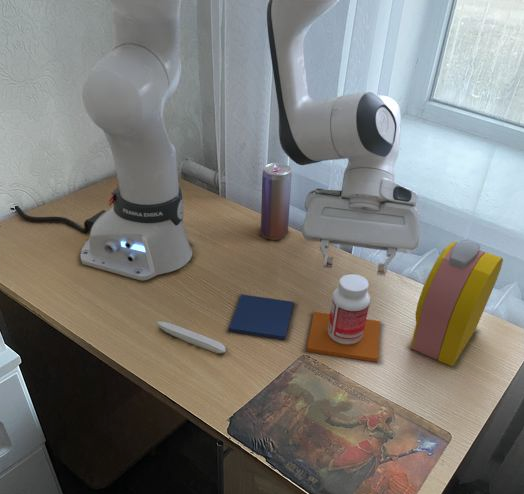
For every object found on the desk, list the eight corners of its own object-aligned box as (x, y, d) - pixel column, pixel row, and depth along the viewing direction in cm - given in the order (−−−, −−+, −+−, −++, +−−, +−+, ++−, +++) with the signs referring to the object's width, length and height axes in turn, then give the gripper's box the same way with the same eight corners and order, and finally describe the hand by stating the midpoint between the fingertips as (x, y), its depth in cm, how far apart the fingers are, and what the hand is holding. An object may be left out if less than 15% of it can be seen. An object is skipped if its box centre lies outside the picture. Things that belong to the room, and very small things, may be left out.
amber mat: (306, 351, 91) (306, 347, 90) (313, 314, 98) (313, 311, 97) (377, 362, 89) (378, 358, 89) (379, 324, 96) (380, 321, 96)
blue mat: (228, 331, 94) (228, 328, 93) (241, 297, 101) (241, 294, 100) (284, 340, 93) (285, 336, 92) (293, 305, 100) (293, 301, 99)
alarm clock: (435, 308, 100) (463, 221, 88) (478, 325, 97) (513, 237, 84) (402, 352, 91) (428, 261, 79) (448, 372, 88) (483, 281, 75)
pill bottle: (370, 338, 92) (381, 286, 85) (342, 350, 90) (352, 298, 82) (346, 318, 96) (356, 267, 89) (320, 329, 94) (327, 278, 86)
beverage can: (256, 237, 117) (258, 171, 106) (266, 224, 121) (269, 160, 111) (281, 243, 115) (286, 177, 105) (291, 230, 119) (296, 165, 109)
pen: (159, 325, 95) (158, 317, 93) (228, 351, 90) (227, 343, 89) (153, 330, 93) (152, 322, 92) (223, 356, 89) (223, 349, 88)
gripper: (307, 180, 92) (294, 259, 92) (427, 194, 90) (415, 275, 89) (308, 192, 99) (296, 266, 98) (421, 206, 96) (409, 282, 96)
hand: (354, 271), depth 94 cm, fingers open, 8 cm apart
